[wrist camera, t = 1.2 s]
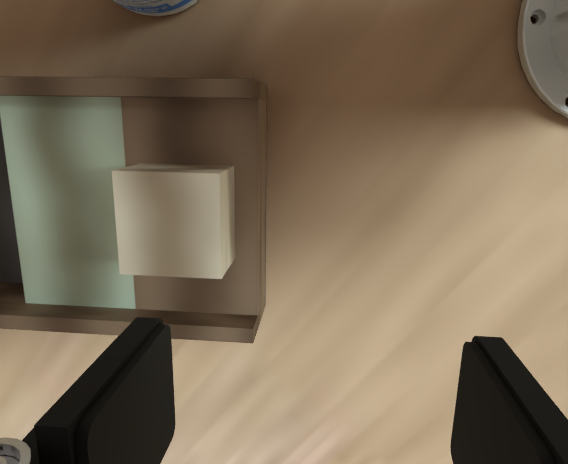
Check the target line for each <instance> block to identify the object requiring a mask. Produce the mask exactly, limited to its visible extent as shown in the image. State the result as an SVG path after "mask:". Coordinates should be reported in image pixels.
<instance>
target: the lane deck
mask: <svg viewBox="0 0 568 464" xmlns="http://www.w3.org/2000/svg"><path fill="white" fill-rule="evenodd" d="M266 125H267V86H266V85H264V84H262V83H260V82H258V81H256V80H254V79H227V78H120V77H14V76H0V328H1V329H18V330H36V331H53V332H70V333H87V334H104V335H120V334H121V333H122V332H123V331H124V330H125V329H126V328H127V327H128V326H129V325H130V323H131V322H132V321H133V320H134V319H135V318H137V317H148V318H161V319H162V320H163V323H164V325H169V326H170V329H171V338H172V339H189V340H206V341H223V342H240V343H253V342H254V339H255V336H256V333H257V330H258V327H259V324H260V321H261V318H262V314H263V311H264V308H265V293H266ZM140 163H145V164H184V165H223V166H234V200H235V259H234V260H233V262H232V264H231V265H230V267H229V268H228V270H227V271H226V273H225V274H224V276H223V278H222V279H209V278H188V277H167V276H146V275H124V274H120V271H119V258H118V246H117V233H116V220H115V208H114V195H113V182H112V170H116V169H120V168H124V167H128V166H132V165H136V164H140Z"/></svg>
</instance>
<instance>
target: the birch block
mask: <svg viewBox="0 0 568 464" xmlns="http://www.w3.org/2000/svg"><path fill="white" fill-rule="evenodd" d="M112 182H113V195H114V208H115V220H116V233H117V246H118V258H119V271H120V274H124V275H146V276H167V277H188V278H209V279H222V278H223V276H224V274H225V273H226V271H227V270H228V268H229V267H230V265H231V264H232V262H233V260H234V259H235V200H234V166H223V165H184V164H145V163H140V164H136V165H132V166H128V167H124V168H120V169H116V170H112Z"/></svg>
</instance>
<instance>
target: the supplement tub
mask: <svg viewBox="0 0 568 464" xmlns="http://www.w3.org/2000/svg"><path fill="white" fill-rule="evenodd" d="M112 1H113V2H115V3H117V4H119V5H121V6H122V7H124V8H126V9H128V10H130V11H133V12H135V13H139V14H143V15H150V16H165V15H170V14H175V13H178V12H181V11H183V10H185V9H187V8H189V7H190V6H192V5H194V4H195V3H196V2H198V1H199V0H112Z"/></svg>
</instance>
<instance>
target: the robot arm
mask: <svg viewBox="0 0 568 464" xmlns="http://www.w3.org/2000/svg"><path fill="white" fill-rule="evenodd" d="M531 16H533V17H534V18H535V23H534V24H532V22H531V19H530V17H531ZM518 51H519V56H520V61H521V66H522V68H523V70H524V73H525V75H526V77H527V80H528V82H529V84H530V85H531V86H532V88H533V89H534V91H535V92H536V94H537V95H538V96H539V98H540V99H541V100H543V101H544V102H545V103H546V104H547V105H548V106H549V107H550V108H551V109H553V110H554V111H556V112H558V113H559V114H561V115H563V116H565V117H566V118H568V104H567V105H565V99H566V97H567V98H568V0H523V1H522V4H521V9H520V15H519V20H518ZM174 430H175V406H174V385H173V365H172V345H171V329H170V326H169V325H164V323H163V320H162V319H161V318H148V317H137V318H135V319H134V320H133V321H132V322H131V323H130V325H129V326H128V327H127V328H126V329H125V330H124V331H123V332H122V333H121V334H120V335H119V336H118V337H117V338H116V339H115V340H114V341H113V343H112V344H111V345H110V346H109V347H108V348H107V349H106V350H105V351H104V352H103V353H102V354H101V355H100V356H99V357H98V358H97V359H96V360H95V362H94V363H93V364H92V365H91V366H90V367H89V368H88V369H87V370H86V371H85V372H84V373H83V374H82V375H81V376H80V377H79V378H78V380H77V381H76V382H75V383H74V384H73V385H72V386H71V387H70V388H69V389H68V390H67V391H66V392H65V393H64V394H63V395H62V396H61V397H60V399H59V400H58V401H57V402H56V403H55V404H54V405H53V406H52V407H51V408H50V409H49V410H48V411H47V412H46V413H45V414H44V415H43V416H42V418H41V419H40V420H39V421H38V422H37V423H36V424H35V425H34V428H33V429H32V430H31V431H30V432H29V433H28V435H27V436H26V437H25V438H24V439H23V440H22V441H21V440H19V439H14V438H0V464H160V463H161V461H162V459H163V457H164V455H165V453H166V451H167V449H168V447H169V444H170V442H171V440H172V438H173V435H174ZM451 456H452V460H453V463H454V464H568V419H567V418H566V417H565V416H564V414H563V413H562V412H561V411H560V409H559V408H558V407H557V406H556V405H555V403H554V402H553V401H552V400H551V398H550V397H549V396H548V395H547V393H546V392H545V391H544V389H543V388H542V387H541V386H540V384H539V383H538V382H537V381H536V379H535V378H534V377H533V376H532V374H531V373H530V372H529V371H528V369H527V368H526V367H525V366H524V364H523V363H522V362H521V361H520V359H519V358H518V357H517V356H516V354H515V353H514V352H513V351H512V349H511V348H510V347H509V346H508V344H507V343H506V342H505V341H504V339H502V338H501V337H483V336H474V337H473V339H472V342H465V343H464V346H463V352H462V360H461V367H460V375H459V383H458V391H457V399H456V406H455V414H454V422H453V430H452V438H451Z"/></svg>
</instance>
